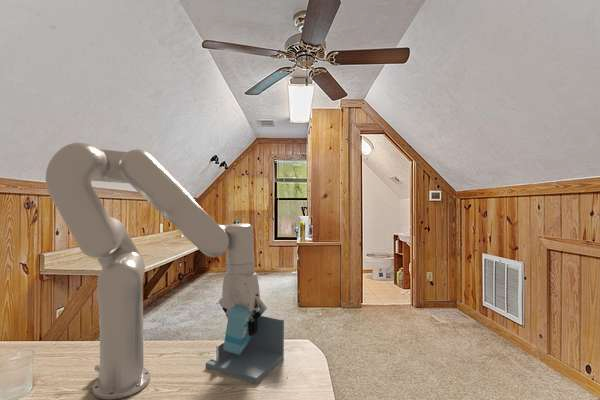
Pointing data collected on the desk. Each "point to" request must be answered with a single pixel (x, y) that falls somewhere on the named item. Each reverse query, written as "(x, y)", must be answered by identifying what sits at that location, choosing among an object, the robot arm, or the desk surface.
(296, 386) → the desk surface
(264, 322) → the l-shaped stand
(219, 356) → the bookend
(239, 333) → the data package
